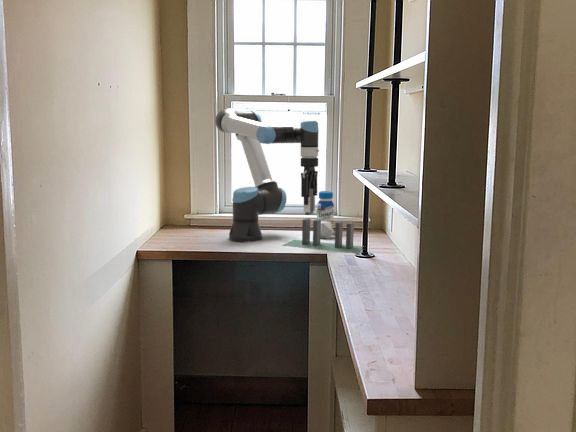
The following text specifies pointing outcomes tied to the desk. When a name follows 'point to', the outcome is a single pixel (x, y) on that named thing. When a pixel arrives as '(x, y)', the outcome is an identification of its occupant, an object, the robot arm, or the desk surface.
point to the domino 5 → (349, 235)
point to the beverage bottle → (325, 207)
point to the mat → (324, 246)
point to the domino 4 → (338, 234)
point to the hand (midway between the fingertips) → (309, 211)
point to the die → (326, 229)
